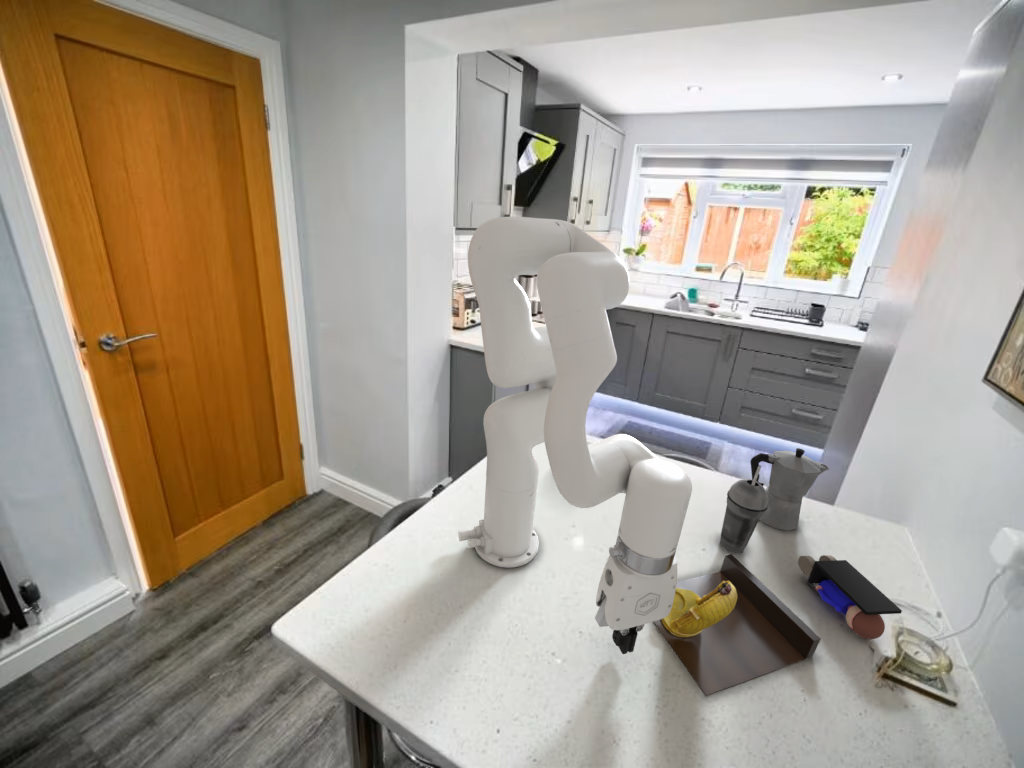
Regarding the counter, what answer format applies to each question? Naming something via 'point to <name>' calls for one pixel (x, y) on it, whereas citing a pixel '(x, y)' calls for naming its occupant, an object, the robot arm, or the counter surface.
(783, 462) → the coffeepot
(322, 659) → the counter surface
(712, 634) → the dark wood ledge tray
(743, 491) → the beverage cup
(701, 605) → the yellow ribbed curl ornament
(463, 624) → the counter surface
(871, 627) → the figurine character
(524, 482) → the robot arm
